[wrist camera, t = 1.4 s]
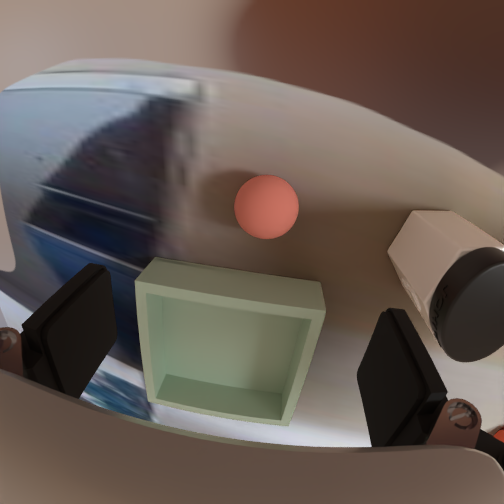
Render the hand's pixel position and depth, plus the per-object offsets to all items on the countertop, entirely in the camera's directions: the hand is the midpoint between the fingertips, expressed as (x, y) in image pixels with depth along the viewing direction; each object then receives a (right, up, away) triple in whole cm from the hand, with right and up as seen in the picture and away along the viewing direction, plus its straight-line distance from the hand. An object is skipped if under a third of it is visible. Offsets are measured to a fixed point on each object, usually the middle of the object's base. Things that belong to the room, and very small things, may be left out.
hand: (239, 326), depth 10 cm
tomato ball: (+2, +6, +14) cm, 16 cm away
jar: (+17, +3, +17) cm, 24 cm away
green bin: (-2, -6, +23) cm, 23 cm away
